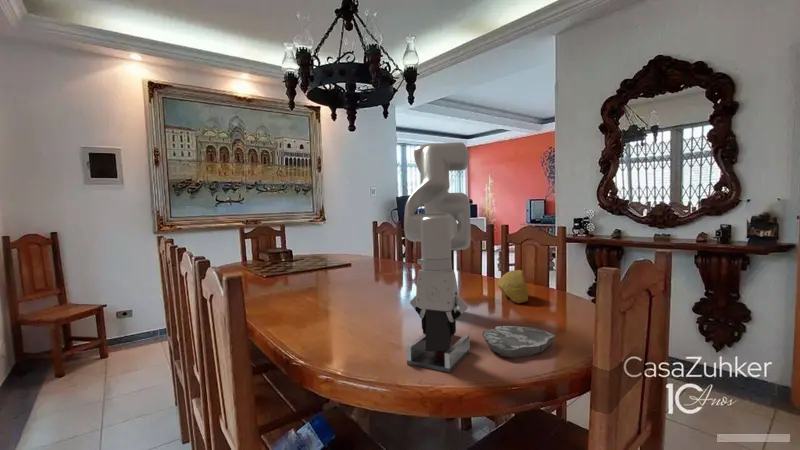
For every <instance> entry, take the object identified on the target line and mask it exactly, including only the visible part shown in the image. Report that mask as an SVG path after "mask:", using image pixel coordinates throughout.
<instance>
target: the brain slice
mask: <svg viewBox="0 0 800 450" xmlns="http://www.w3.org/2000/svg"><path fill="white" fill-rule="evenodd" d="M482 332H483V333H482V337H483V338H484V340H485V342H486V344H487V346H488V347H489V348H490V349H491V351H492V352H493V353H497V354H499V355H500V356H501V357H504V358H512V359H517V358H521V357H530V356H533V355H536V354H541V353H543V351H544V350H546V349H547V348H548V347H549V346H551V344H552V343H553V341H554V338H555V335H554V333H551V332H549V331H546V330H543V329H541V328H537V327H529V326H528V327H527V326H517V325H502V326H501V325H500V326H494V328H492V329H490V328H489V329H486V330H485V329H484V330H483V331H482Z"/></svg>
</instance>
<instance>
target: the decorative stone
mask: <svg viewBox="0 0 800 450" xmlns="http://www.w3.org/2000/svg"><path fill="white" fill-rule="evenodd" d="M497 287H498V288H499V289H500V290H501V292H502V294H504V295H505V296H506V297H507V298H510V300H511V301H513V302H515V303H516V304H521V303H525V302H528V301H529V296H530V291H529V289H528V284H527V282H526V279H525V276H524V270H522V269H521V270H520V269H516V270H510V271H507V272H506V273H505V274H503V275H502V276H501V277H500V278H499V280H498V281H497Z"/></svg>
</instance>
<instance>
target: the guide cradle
mask: <svg viewBox="0 0 800 450" xmlns="http://www.w3.org/2000/svg"><path fill="white" fill-rule="evenodd" d="M470 339H471V338H470V334H464V335H463V336H462V337H460V339H458V340H457V341H456V342H455V343H454V344H451V347H450V349H449V350H448V351H446V352H438V351H426V334H422V335H421V336H419V337H418V338H416V339H415V340H413V341H412V342H411V343H409V344H408V345H407V346H406V365H408V364H409V366H415V367H418V366H419V368H422V369H423V368H425V369H428V368H429V369H428V370H435V371H439V372H443V371H444V373H448V372H449V373H452V371H453V370H454V369H455V368H456V367H457V366H458V365H459V364H460V363H461V362H462V361H463V359H464V358H465V357H466V356H468V354H470V353H471V347H470V346H471V345H470V341H471V340H470ZM449 373H448V374H449Z"/></svg>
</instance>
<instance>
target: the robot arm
mask: <svg viewBox="0 0 800 450" xmlns="http://www.w3.org/2000/svg"><path fill="white" fill-rule="evenodd" d="M413 156H414V162H415V164H416V168H417V170H418V171H419V174H420V185H419V186H417V187H416V188H415V189H414V190H413V191H412V193H411V194H410V195H409V197H408V199H407V200H406V202H405V206H404V216H403V219H404V220H403V230H404V236H405V237H406V239H407V240H408V241H410V242H413V243H415V242H416V243H417V242H419V243H420V250H421V255H420V256H421V257H420V258H418V259H417V261H416V263H417V265H420V269H418V272H417V280H416V289H415V290H416V291H415V295H414V297H413V298H412V299H411V300H410V301H409V304H410V305H411V307H413V309H414V310H415V312H416V313H417V314H418V316H419V318H420V319H421V329H422V333H423V334H426V310H433V311H442V312H446V314H447V316H448V319H449V321H450V322H447V324H448V327H449V328H450V338H451V339H452V337H453V336H454V335H455V334H456V332H457V321H456V320H457V319H458V318H459V317H461V315H462V314H464V313H465V311H467V310H468V305H467V304H466V303H465V302H464V301H463V300H462V299H461V297H460V296H459V291H458V283H457V278H456V272H455V269H452V267H453V266H452V251H455V250H456V251H457V250H458V251H459V250H467V249H468V248H470V245H471V241H472V237H471V236H472V232H471V227H472V226H471V204H470V200H469V197H468V195H467V194H466V193H464V192H449V190H450V185H451V184H450V172H453V171H454V172H456V171H465V170H466V169H467V168H468V165H469V158H470V157H469V156H470V155H469V151H468V147H467V145H466V144H465V143H464V142H461V141H459V142H437V143H426V144H425V143H423V144H419V145H417V146H416V147H415V149H414V151H413ZM422 206H424V213H416V212H417V210H419V208H421V207H422ZM415 213H416V214H415ZM458 308H459V309H458ZM423 334H422V335H423Z"/></svg>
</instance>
